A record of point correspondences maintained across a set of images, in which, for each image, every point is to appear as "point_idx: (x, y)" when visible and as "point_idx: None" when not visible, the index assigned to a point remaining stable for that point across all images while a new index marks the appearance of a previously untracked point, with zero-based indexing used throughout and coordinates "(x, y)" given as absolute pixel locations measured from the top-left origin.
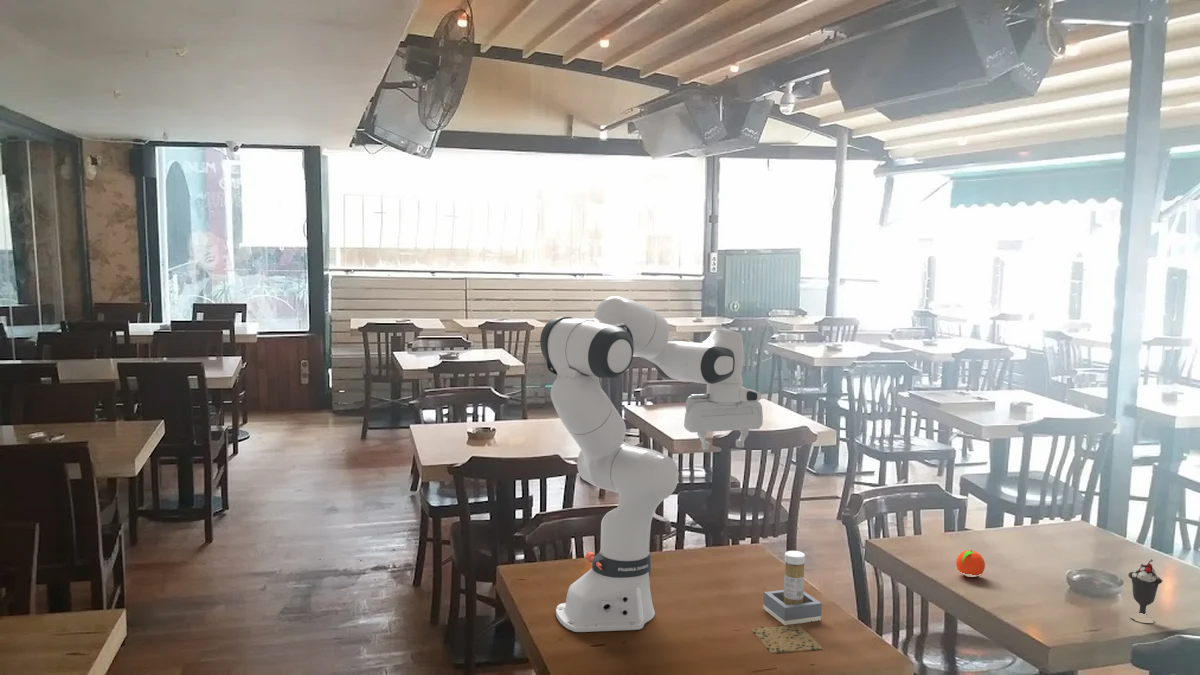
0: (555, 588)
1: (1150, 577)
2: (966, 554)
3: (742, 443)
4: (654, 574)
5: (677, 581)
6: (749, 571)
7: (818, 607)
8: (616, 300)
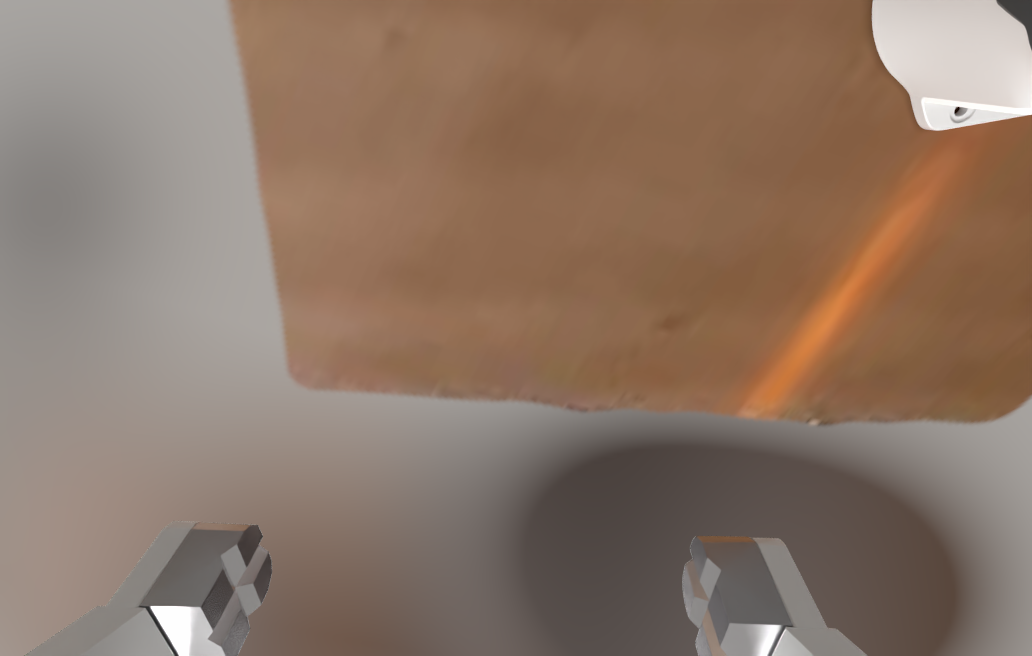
0: (1014, 248)
1: None
2: None
3: (163, 564)
4: (679, 264)
5: (645, 192)
6: (382, 202)
7: None
8: None
